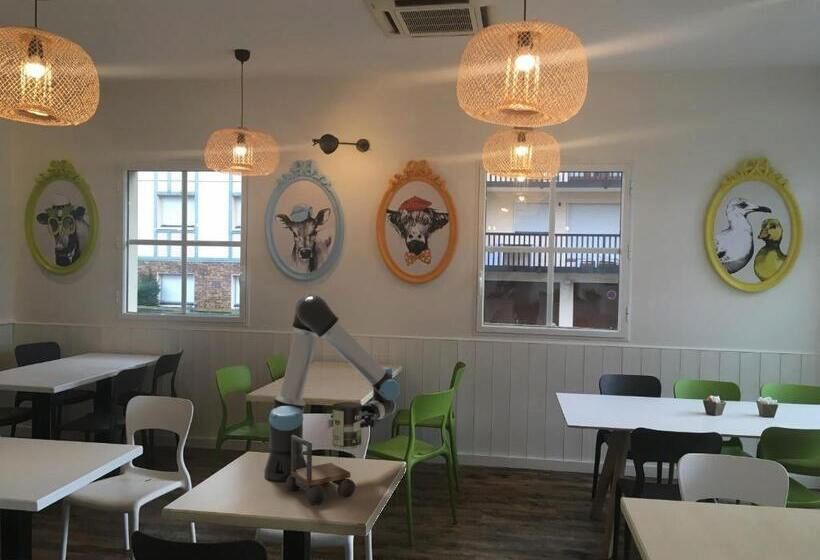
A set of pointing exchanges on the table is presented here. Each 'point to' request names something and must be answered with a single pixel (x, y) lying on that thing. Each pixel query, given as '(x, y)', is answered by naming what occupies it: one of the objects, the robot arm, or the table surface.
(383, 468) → the table surface
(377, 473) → the table surface
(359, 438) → the coffee can
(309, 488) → the trolley
